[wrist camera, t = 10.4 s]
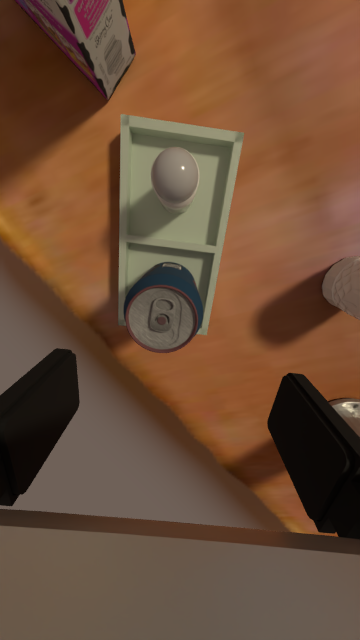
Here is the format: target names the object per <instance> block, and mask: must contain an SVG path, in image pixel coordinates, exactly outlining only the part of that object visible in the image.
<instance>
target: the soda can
mask: <svg viewBox="0 0 360 640" xmlns="http://www.w3.org/2000/svg"><path fill="white" fill-rule="evenodd" d="M123 312H124V319H125V322H126V326H127V329H128V332H129V334H130V335H131V337H132V338H133V340H134V341H135V342H136V343H137V344H139V345H140V346H141V347H143V348H145V349H147V350H149V351H152V352H157V353H169V352H173V351H176V350H179V349H181V348H182V347H184V346H185V345H187V344H188V343H189V342H190V341H191V340H192V338H193V337H194V336H195V335H196V334H197V332H198V331H199V329H200V327H201V324H202V320H203V305H202V301H201V298H200V295H199V292H198V289H197V286H196V283H195V280H194V277H193V276H192V274H191V273H190V271H189V270H188V269H186V268H185V267H184V266H182V265H180V264H178V263H174V262H162V263H159V264H157V265H155V266H153V267H152V268H150V269H149V270H148V271H147V272H146V273H145V274H144V275H143V276H142V277H141V278H140V279H139V280H138V281H137V282H136V283H135V284H134V285H133V287H132V288H131V289H130V290H129V292H128V294H127V296H126V298H125V302H124V308H123Z"/></svg>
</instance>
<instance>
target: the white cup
mask: <svg viewBox="0 0 360 640" xmlns="http://www.w3.org/2000/svg"><path fill="white" fill-rule="evenodd" d="M322 291H323V296H324V297H325V299H326V300H327V301H328V302H329V303H330V304H332V305H334V306H336V307H338V308H340V309H341V310H343V311H344V312H346V313H347V314H349V315H351V316H353V317H355V318H356V319H358V320H360V256H354V257H348V258H344V259H342V260H341V261H339V262H337V263H336V264H334V265H333V266H332V267H331V269H330V270H329V271H328V272H327V273H326V275H325V277H324V280H323V284H322Z"/></svg>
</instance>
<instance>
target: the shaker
mask: <svg viewBox="0 0 360 640" xmlns="http://www.w3.org/2000/svg"><path fill="white" fill-rule="evenodd" d="M199 178H200V175H199V168H198V165H197V162H196V160H195V158H194V157H193V156H192V155H191V154H190V153H189V152H188V151H187V150H185V149H183V148H179V147H170V148H167V149H165V150H163V151H162V152H161V153H160V154H159V155H158V156H157V157H156V159H155V160H154V162H153V165H152V169H151V183H152V186H153V189H154V191H155V193H156V195H157V197H158V198H159V200H160V202H161V204H162V206H163V207H164V208H165V209H166V210H167V211H168V212H170V213H173V214H181V213H183V212H185V211H187V210H188V209H189V208H190V206H191V205H192V203H193V200H194V197H195V194H196V191H197V188H198V185H199Z"/></svg>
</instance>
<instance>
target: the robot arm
mask: <svg viewBox="0 0 360 640" xmlns="http://www.w3.org/2000/svg"><path fill="white" fill-rule="evenodd" d="M78 407H79V389H78V377H77V364H76V355H75V354H74V353H72V351H71V350H68V349H58V348H57V349H55V350H53V351H52V352H51V353H50V354H49V355H48V356H46V357H45V358H44V359H43V360H42V361H40V362H39V363H38V364H37V365H36V366H35V367H33V368H32V369H31V370H30V371H29V372H27V374H25V375H24V376H23V377H22V378H20V379H19V380H18V381H17V382H16V383H14V384H13V385H12V386H11V387H10V388H9V389H7V390H6V391H5V392H4V393H3V394H1V395H0V505H5V506H12V505H13V504H14V502H15V501H16V499H17V498H18V496H19V495H20V494H24V493H25V492H26V490H27V489H28V487H29V486H30V485H31V483H32V481H33V480H34V478H35V477H36V475H37V473H38V472H39V470H40V469H41V467H42V465H43V464H44V462H45V461H46V459H47V457H48V456H49V454H50V453H51V451H52V449H53V448H54V446H55V444H56V443H57V441H58V440H59V438H60V437H61V435H62V433H63V432H64V430H65V429H66V427H67V425H68V424H69V422H70V421H71V419H72V417H73V416H74V414H75V413H76V411H77V409H78ZM267 424H268V429H269V431H270V433H271V436H272V438H273V440H274V442H275V444H276V447H277V449H278V451H279V453H280V456H281V458H282V460H283V462H284V464H285V467H286V469H287V471H288V473H289V475H290V478H291V480H292V482H293V484H294V486H295V489H296V491H297V493H298V495H299V498H300V500H301V502H302V504H303V506H304V509H305V511H306V513H307V515H308V516H309V518H310V519H312V520H313V521H314V523H315V525H316V527H317V529H318V531H319V532H322V533H334V534H335V532H337V534H338V536H339V537H334V536H325V535H314V534H303V533H292V532H281V531H270V530H259V529H248V528H237V527H225V526H214V525H202V524H190V523H178V522H166V521H154V520H143V519H130V518H118V517H105V516H91V515H79V514H67V513H54V512H41V511H25V510H7V509H0V640H360V400H359V399H352V398H348V399H338V400H334V401H331V402H328V401H327V400H326V399H325V398H324V397H323V396H322V395H321V394H320V392H319V391H318V390H317V389H316V388H315V387H314V386H313V385H312V383H311V382H310V381H309V380H308V379H307V378H306V377H305V376H304V375H303V374H296V373H288V374H287V375H286V376H284V377H283V378H282V381H281V384H280V387H279V389H278V392H277V395H276V398H275V401H274V404H273V407H272V409H271V412H270V415H269V418H268V423H267Z"/></svg>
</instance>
